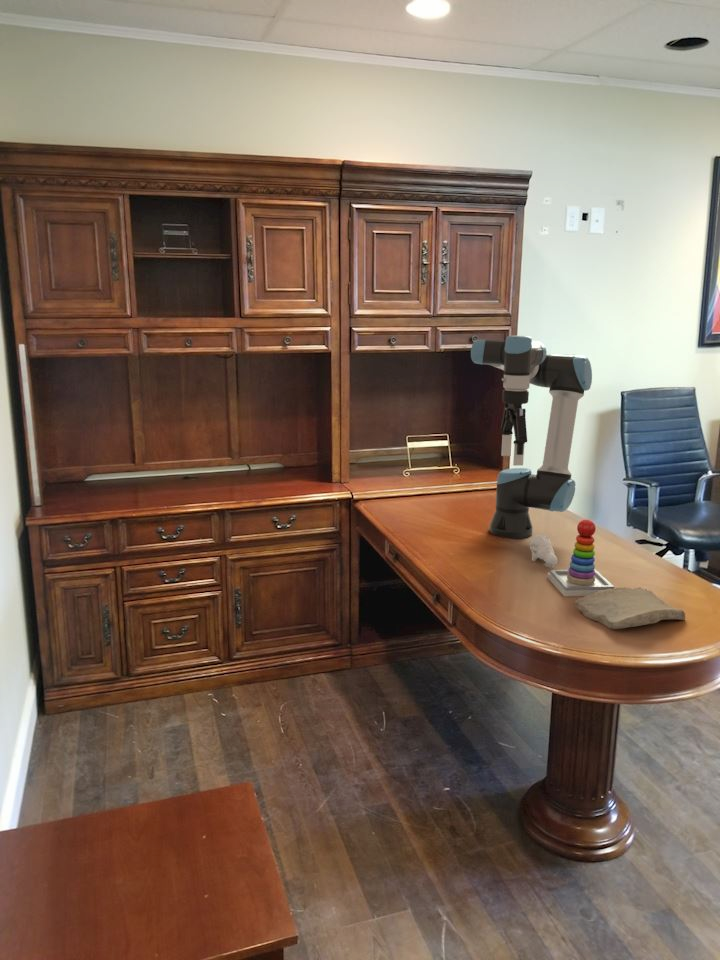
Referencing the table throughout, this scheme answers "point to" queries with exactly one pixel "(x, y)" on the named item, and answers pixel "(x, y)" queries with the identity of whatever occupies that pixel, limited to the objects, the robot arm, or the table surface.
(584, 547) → the stacking toy
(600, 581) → the tray
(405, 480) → the table surface
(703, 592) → the table surface
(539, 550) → the lumpy white figurine
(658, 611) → the tablet
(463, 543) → the table surface
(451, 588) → the table surface
